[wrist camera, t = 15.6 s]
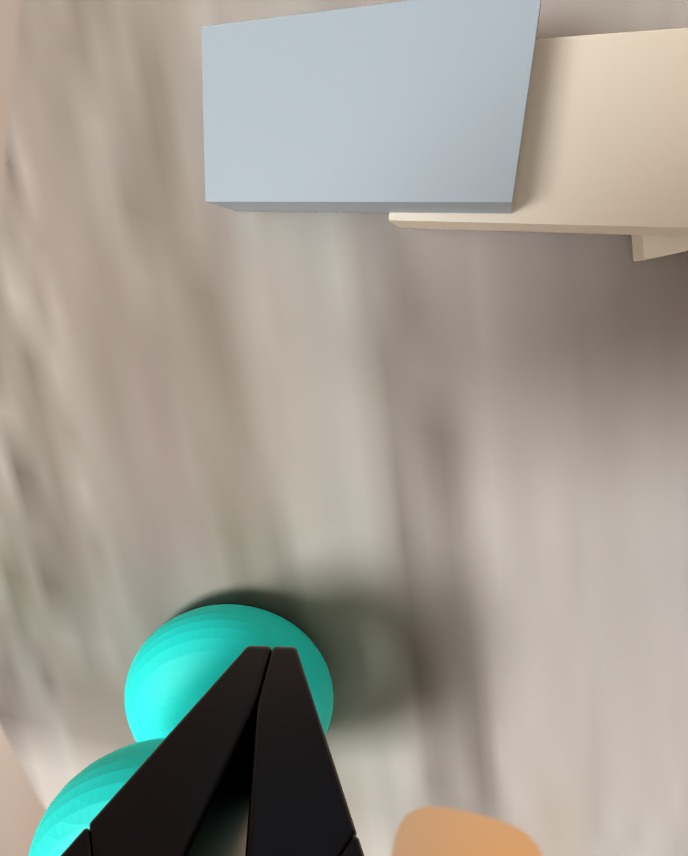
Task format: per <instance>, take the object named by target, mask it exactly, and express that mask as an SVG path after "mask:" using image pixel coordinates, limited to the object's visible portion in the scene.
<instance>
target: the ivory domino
mask: <svg viewBox="0 0 688 856" xmlns="http://www.w3.org/2000/svg"><path fill="white" fill-rule="evenodd" d="M389 221H391V222H392V223H393V224H395V225H396V226H398V227H399V228H418V229H453V230H487V231H521V232H556V233H590V234H624V235H658V236H688V28H676V29H662V30H649V31H635V32H622V33H608V34H595V35H581V36H568V37H554V38H541V39H536V46H535V53H534V60H533V66H532V73H531V80H530V87H529V94H528V101H527V108H526V115H525V122H524V129H523V136H522V143H521V150H520V157H519V164H518V171H517V178H516V185H515V192H514V198H513V205H512V212H511V214H500V213H389Z"/></svg>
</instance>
